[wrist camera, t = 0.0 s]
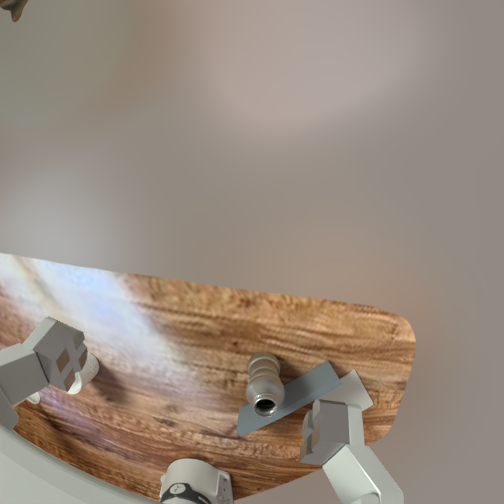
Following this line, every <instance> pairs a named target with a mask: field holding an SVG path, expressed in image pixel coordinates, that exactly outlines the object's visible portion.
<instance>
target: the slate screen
mask: <svg viewBox="0 0 504 504" xmlns="http://www.w3.org/2000/svg"><path fill="white" fill-rule="evenodd" d="M340 385H342V383H341V381H340V379H339V378H338V376H337V374H336V373H335V371H334V369H333V368H332V366H331V364H330V363H329V361H328V360H327V361H326V362H324V363H322V364H321V365H319V366H317V367H315V368H314V369H312V370H310V371H309V372H307V373H305V374H303V375H302V376H300V377H298V378H296V379H294V380H293V381H291V382H289V383H287V384H285V385H283V386H284V389H285V397H284V399H283V401H282V403H281V404H280V405H279V406H278V409H277V412H276V413H275V414H274V415H273V416H271V417H260V416H258V415H257V414H256V413H255V412H254V409H253V406H252V405H251V404H250V403H249V404H247V405H245V406H243V407H240V408H239V416H238V424H237V432H238V434H239V435H240V436H241V437H242V436H244V435H246V434H248V433H251V432H253V431H255V430H257V429H259V428H261V427H263V426H266V425H268V424H270V423H272V422H274V421H276V420H278V419H280V418H282V417H284V416H286V415H288V414H290V413H292V412H294V411H296V410H297V409H299V408H301V407H303V406H305V405H307V404H309V403H310V402H312V401H314V400H316V399H318V398H319V397H321V396H323V395H325V394H326V393H328V392H330V391H332V390H333V389H335V388H337V387H338V386H340Z"/></svg>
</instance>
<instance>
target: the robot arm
mask: <svg viewBox="0 0 504 504" xmlns="http://www.w3.org/2000/svg"><path fill="white" fill-rule="evenodd" d="M84 339H85V338H84V334H83V332H82V331H79V330H77V329H75V328H73V327H70V326H68V325H66V324H64V323H62V322H60V321H58V320H55V319H53V318H51V317H49V316H48V317H46V318H44V319H43V321H42V322H41V323H40V324H39V325H38V326H37V327H36V329H35V330H34V331H33V332H32V333H31V335H30V336H29V337H28V338H27V339H26V340H25V342H24V343H23V344H20V343H18V344H16V345H13V346H10V347H8V348H5V349H3V350H0V504H234V500H233V493H232V486H231V478H230V474H229V473H228V472H225V471H222V470H218V469H216V468H215V467H213V466H212V465H210V464H208V463H206V462H203V461H200V460H196V459H180V460H177V461H174V462H173V463H172V464H170V466H169V467H168V469H167V472H166V474H164V475H163V476H162V477H161V482H162V488H161V492H160V497H161V499H160V502H158V501H155V500H152V499H149V498H146V497H143V496H141V495H138V494H135V493H132V492H130V491H127V490H125V489H122V488H120V487H117V486H115V485H112V484H110V483H107V482H105V481H103V480H101V479H98V478H96V477H94V476H92V475H90V474H87V473H85V472H83V471H81V470H79V469H77V468H75V467H73V466H71V465H69V464H67V463H66V462H64V461H62V460H60V459H58V458H56V457H54V456H53V455H51V454H49V453H47V452H46V451H44V450H42V449H41V448H39V447H37V446H36V445H34V444H32V443H31V442H29V441H27V440H26V439H24V438H23V437H21V436H20V435H18V434H17V433H15V432H14V431H12V430H13V428H14V427H15V425H16V423H17V422H18V420H19V416H18V414H17V413H16V411H15V410H14V408H13V407H12V406H13V405H15V404H17V403H18V402H20V401H22V400H24V399H25V398H27V397H29V396H31V395H32V394H34V393H36V392H38V391H39V390H41V389H43V388H45V387H46V386H48V385H49V384H51V385H53V386H55V387H57V388H59V389H61V390H63V391H65V392H67V393H68V391H69V389H70V388H71V386H72V385H73V383H74V381H75V380H76V377H75V373H77V372H79V371H81V370H82V369H83V367H84V365H85V363H86V360H87V353H88V351H87V347H86V346H85V344H84V343H83V340H84ZM301 435H302V437H303V438H304V440H305V441H304V443H303V444H302V445H301V448H300V463H307V464H315V465H323V466H322V467H323V469H324V471H325V472H326V475H327V476H328V478H329V480H330V482H331V484H332V486H333V488H334V490H335V492H336V493H337V495H338V497H339V499H340V501H341V503H342V504H404V500H403V492H402V490H401V489H400V488H399V486H398V485H397V484H396V482H395V481H394V480H393V478H392V477H391V476H390V474H389V473H388V472H387V470H386V469H385V468H384V466H383V465H382V464H381V462H380V461H379V460H378V458H377V457H376V456H375V454H374V453H373V452H372V450H371V449H370V448H369V446H365V443H364V431H363V420H362V410H361V406H360V405H358V404H348V403H344V402H337V401H329V400H322V399H317V400H316V401H315V402H314V403H313V409H312V410H310V411H308V412H307V414H306V416H305V418H304V421H303V425H302V432H301Z"/></svg>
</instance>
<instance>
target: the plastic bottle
mask: <svg viewBox="0 0 504 504" xmlns="http://www.w3.org/2000/svg"><path fill="white" fill-rule="evenodd" d="M247 370H248V374H249V376H250V379H249V383H248V385H247V388H246V398H247V400H248V402H249V403H250V404H251V405H252V406H253V409H254V412H255V413H256V414H257V415H258V416H260V417H271V416H273V415H274V414H275V413H276V412H277V409H278V406H279V405H280V404H281V403H282V401H283V399H284V397H285V389H284V386H283V384H282V382H281V381H280V378H279V373H280V363H279V361H278V359H277V358H276V357H275V356H274V355H273V354H271V353H268V352H259V353H256V354H254V355H253V356H252V357H251V358H250V360H249V362H248V364H247Z"/></svg>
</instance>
